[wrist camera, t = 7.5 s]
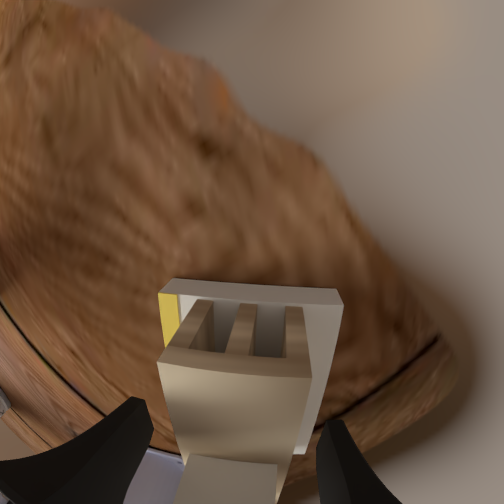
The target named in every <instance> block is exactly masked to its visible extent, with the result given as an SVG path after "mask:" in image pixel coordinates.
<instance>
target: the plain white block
mask: <svg viewBox="0 0 504 504" xmlns="http://www.w3.org/2000/svg"><path fill="white" fill-rule="evenodd" d="M276 481H277V464H264V463H251V462H241V461H232V460H224V459H218V458H211V457H205V456H200V455H195V454H190V453H189V456H188V459H187V462H186V465H185V468H184V471H183V474H182V477H181V480H180V483H179V486H178V489H177V492H176V495H175V498H174V501H173V504H275V496H276Z"/></svg>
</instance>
